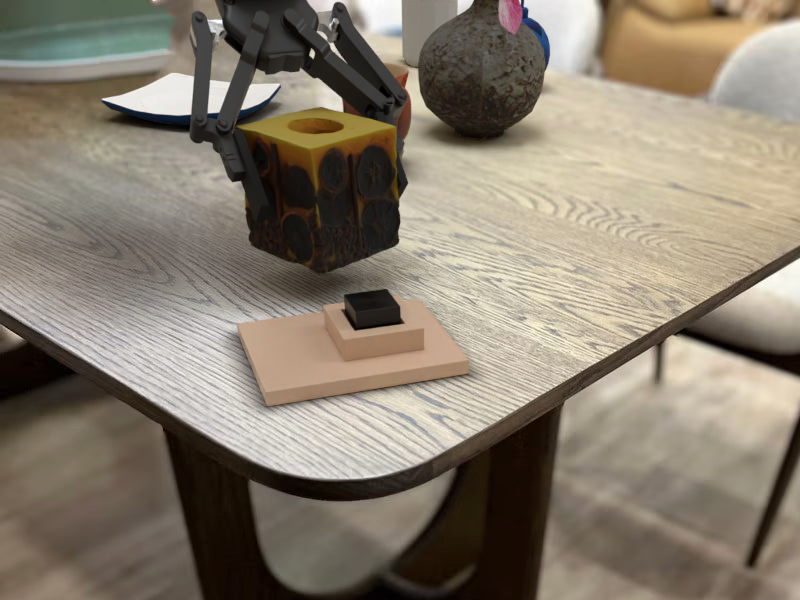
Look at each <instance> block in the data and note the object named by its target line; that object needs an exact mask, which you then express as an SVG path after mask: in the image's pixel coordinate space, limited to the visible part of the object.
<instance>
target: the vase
mask: <svg viewBox="0 0 800 600" xmlns="http://www.w3.org/2000/svg"><path fill="white" fill-rule="evenodd" d="M522 15H523V14H522V7H521V1H520V0H473V1H472V3H471V4H470V6H469V7H468V8H467V9H465V10H464V11H463V12H461V13H459V14H457V16H456V17H454V18H453V19H451V20H449V21H448V22H446V23H444V24H443V25H441V26H440V27H439V28H438V29H436V30H435V31H434V32H433V33H432V34H431V35H430V36H429V37H428V39H427V40H426V41H425V43H424V45H423V47H422V49H421V51H420V55H419V61H418V67H417V73H418V74H417V75H418V76H417V77H418V85H419V86H418V87H419V93H420V95H421V98H422V100H423V102H424V105H425V107H426V109H428V110H429V111H430V112H431V113H432V114H433V115H434V116H436V117H437V118H438V119H439V120H440V121H441V122H442V123H444V124H445V125H447V126H449V127H451V128H453V130H454V134H455V135H457V136H459V137H462V138H465V139H471V140H491V139H498V138H500V137H502V136H504V133H505V131H506V130H508V129H510V128H511V127H513V126H515V125H517V124H518V123H520V122H521V121H522V120H524V119H525V118H526V117H528V115H530V114H531V113H532V112H533V110H534V108H535V106H536V104H537V102H538V100H539V98H540V95H541V94H542V91H543V85H544V80H545V73H546V71H545V52H544V50H543V47H542V45H541V42H540V41H539V39H538V38H537V37H536V35H535V34H534V33H533V31H532V30H531V29H530V28H529V27H528V26H527V25H526V24H525V23H524V22H522V21H521V20H522Z"/></svg>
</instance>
